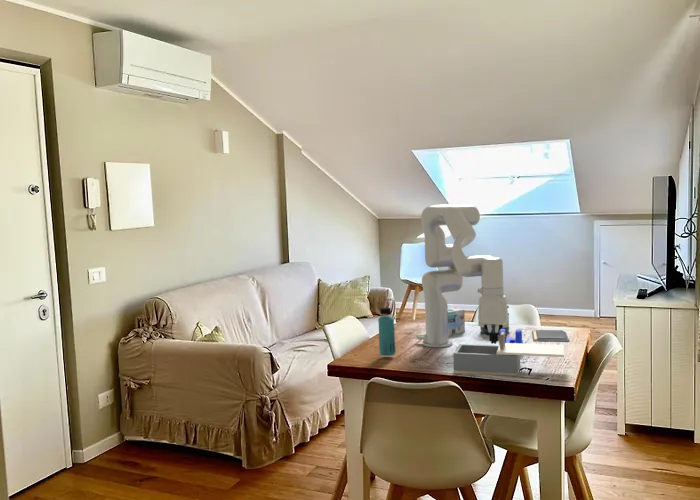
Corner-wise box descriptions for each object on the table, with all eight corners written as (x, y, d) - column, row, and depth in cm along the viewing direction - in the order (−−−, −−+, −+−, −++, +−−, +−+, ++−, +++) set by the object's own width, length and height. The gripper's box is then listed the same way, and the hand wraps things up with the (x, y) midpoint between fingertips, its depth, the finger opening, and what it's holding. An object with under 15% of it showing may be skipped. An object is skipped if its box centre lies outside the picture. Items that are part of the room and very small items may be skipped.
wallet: (569, 339, 251) (531, 338, 256) (569, 343, 251) (531, 342, 256) (566, 329, 270) (531, 328, 275) (567, 333, 271) (531, 332, 275)
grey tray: (453, 372, 214) (453, 353, 214) (460, 362, 228) (459, 344, 227) (517, 376, 207) (517, 356, 206) (520, 365, 220) (520, 346, 220)
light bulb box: (447, 335, 274) (446, 312, 273) (438, 333, 280) (437, 310, 279) (465, 332, 279) (465, 309, 278) (456, 329, 285) (455, 307, 284)
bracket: (521, 354, 237) (520, 331, 236) (499, 353, 239) (498, 330, 239) (523, 343, 254) (523, 322, 253) (503, 342, 256) (502, 321, 256)
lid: (496, 354, 209) (496, 337, 208) (500, 344, 222) (500, 329, 221) (563, 357, 201) (563, 340, 201) (563, 347, 214) (563, 331, 214)
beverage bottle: (391, 360, 235) (389, 309, 233) (376, 358, 238) (374, 308, 237) (398, 356, 240) (397, 306, 239) (384, 354, 244) (382, 306, 242)
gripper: (469, 293, 213) (471, 344, 215) (513, 293, 208) (514, 346, 210) (472, 290, 220) (474, 339, 222) (515, 290, 215) (516, 341, 217)
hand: (493, 342), depth 216 cm, fingers closed
